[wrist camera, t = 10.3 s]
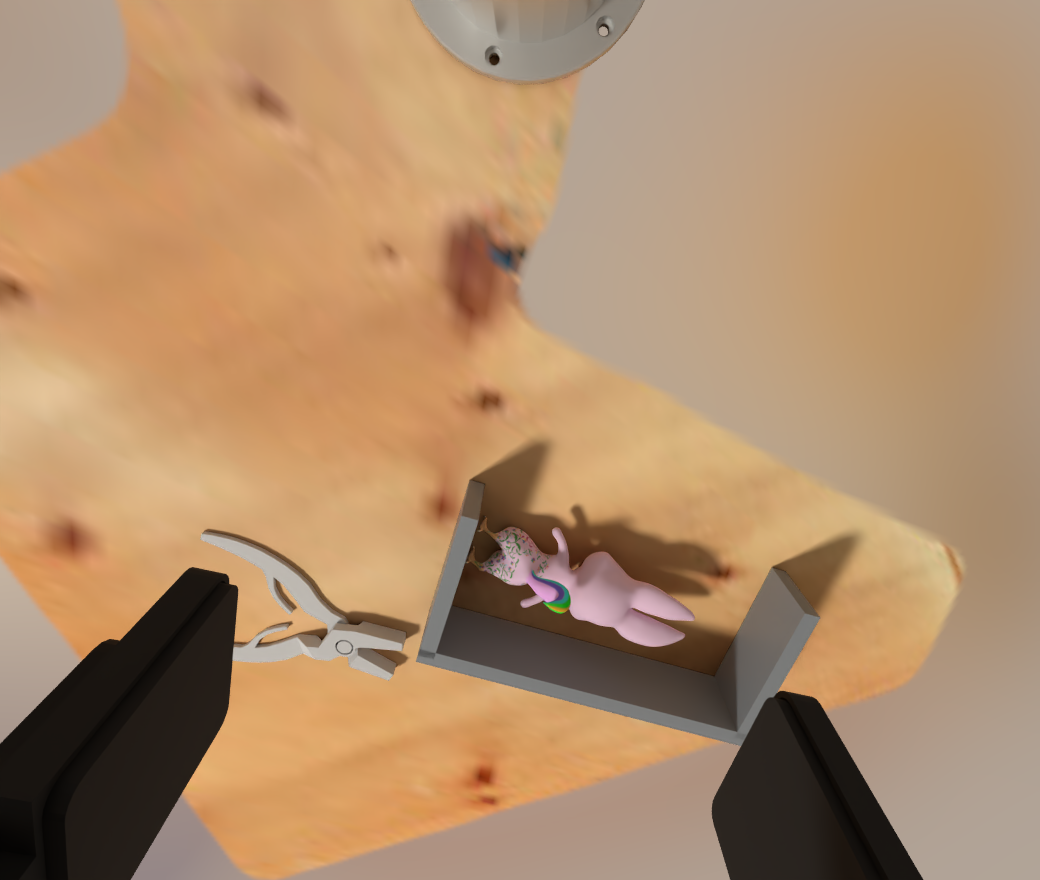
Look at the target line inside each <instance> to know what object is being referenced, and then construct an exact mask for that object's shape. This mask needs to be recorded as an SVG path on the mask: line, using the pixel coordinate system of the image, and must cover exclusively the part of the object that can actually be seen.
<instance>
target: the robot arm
mask: <svg viewBox="0 0 1040 880" xmlns="http://www.w3.org/2000/svg"><path fill="white" fill-rule="evenodd" d="M411 2H412V4H413V6H414V8H415V10H416V12H417V14H418V16H419V17H420V19H421V20H422V22H423V23H424V25H425V26H426V27H427V29H428V30H429V32H430V33H431V35H432V36H433V38H434V39H435V40H436V41H437V42H438V43H439V44H440V45H441V46H442V47H443V48H444V49H445V50H446V51H447V52H448V53H449V54H450V55H451V56H452V57H453V58H455V59H456V60H458V61H459V62H461V63H462V64H464V65H465V66H467V67H468V68H470V69H471V70H473V71H475V72H477V73H479V74H482V75H484V76H487V77H489V78H491V79H494V80H497V81H502V82H508V83H513V84H519V85H521V84H544V83H547V82H551V81H555V80H559V79H563V78H566V77H568V76H570V75H572V74H574V73H576V72H578V71H580V70H582V69H584V68H586V67H588V66H590V65H591V64H592V63H593V62H595V61H596V60H597V59H599V58H600V57H601V56H603V55H604V54H605V53H606V52H608V51H609V50H610V49H611V48H612V47H613V45H614V44H615V43H616V42H617V41H618V40H619V39H620V37H621V36H622V35H623V34H624V33H625V32H626V31H627V29H628V28H629V26H630V24H631V23H632V21H633V20H634V18H635V16H636V15H637V13H638V11H639V10H640V8H641V7H642V4H643V2H644V0H411ZM602 26H603V27H606V28H607V29H608V35H607V36H601V35H600V34H599V32H598V30H599V28H600V27H602ZM493 55H496V56H498V57H499V59H500V61H499V63H498V64H497V65H492V64H490V62H489V60H490V58H491V56H493ZM237 600H238V587H237V586H236V585H231V584H229V577H228V575H226V574H223V573H218V572H213V571H209V570H204V569H199V568H194V567H192V568H189V569H188V570H187V571H185V572H184V573H183V574H182V576H181V577H180V578H179V579H178V580H177V581H176V582H175V583H174V584H173V585H172V586H171V587H170V588H169V589H168V590H167V591H166V592H165V594H164V595H163V596H162V597H161V598H160V599H159V600H158V601H157V602H156V603H155V604H154V605H153V606H152V607H151V608H150V609H149V611H148V612H147V613H146V614H145V615H144V616H143V617H142V618H141V619H140V620H139V621H138V622H137V623H136V624H135V625H134V626H133V627H132V629H131V630H130V631H129V632H128V633H127V634H126V635H125V636H124V637H123V638H122V639H121V640H120V641H119V640H113V639H109V640H106V641H104V642H102V643H100V644H99V645H98V646H97V647H96V648H94V649H93V650H92V651H91V652H90V653H89V654H88V655H87V656H86V657H85V658H84V659H83V660H82V661H81V662H80V663H79V664H78V665H77V667H75V668H74V670H73V671H72V672H71V673H70V674H69V675H68V676H67V677H66V678H65V679H64V680H63V681H62V682H61V683H60V684H59V685H58V686H57V687H56V688H55V689H54V690H53V691H52V692H51V693H50V694H49V695H48V696H47V697H46V698H45V699H44V700H43V701H42V702H41V703H40V704H39V705H38V706H37V707H36V708H35V709H34V710H33V711H32V712H31V713H30V714H29V715H28V716H27V717H26V718H25V719H24V720H23V721H22V722H21V723H20V724H19V725H18V727H16V728H15V729H14V730H13V731H12V732H11V733H10V734H9V735H8V736H7V737H6V739H5V740H4V741H3V742H2V743H1V744H0V880H131V878H132V876H133V875H134V873H135V871H136V870H137V868H138V866H139V864H140V863H141V861H142V859H143V858H144V856H145V854H146V853H147V851H148V849H149V848H150V846H151V844H152V843H153V841H154V839H155V838H156V836H157V834H158V833H159V831H160V829H161V827H162V826H163V824H164V822H165V821H166V819H167V817H168V816H169V814H170V812H171V811H172V809H173V807H174V806H175V804H176V802H177V801H178V799H179V797H180V795H181V794H182V792H183V790H184V789H185V787H186V785H187V784H188V782H189V780H190V779H191V777H192V775H193V774H194V772H195V770H196V768H197V767H198V765H199V763H200V762H201V760H202V758H203V757H204V755H205V753H206V752H207V750H208V748H209V747H210V745H211V743H212V741H213V740H214V738H215V736H216V735H217V733H218V731H219V730H220V728H221V726H222V724H223V722H224V719H225V716H226V714H227V710H228V706H229V696H230V684H231V672H232V660H233V648H234V636H235V624H236V612H237ZM712 819H713V823H714V827H715V830H716V833H717V836H718V840H719V843H720V847H721V850H722V853H723V857H724V860H725V863H726V867H727V870H728V873H729V877H730V880H923V878H922V877H921V875H920V873H919V872H918V870H917V868H916V867H915V865H914V863H913V861H912V860H911V858H910V856H909V855H908V853H907V851H906V849H905V848H904V846H903V844H902V843H901V841H900V839H899V838H898V836H897V834H896V832H895V831H894V829H893V827H892V826H891V824H890V822H889V821H888V819H887V817H886V815H885V814H884V812H883V810H882V809H881V807H880V805H879V803H878V802H877V800H876V798H875V797H874V795H873V793H872V791H871V790H870V788H869V786H868V785H867V783H866V781H865V779H864V778H863V776H862V774H861V773H860V771H859V769H858V768H857V766H856V764H855V762H854V761H853V759H852V757H851V756H850V754H849V752H848V751H847V749H846V747H845V745H844V744H843V742H842V741H841V739H840V737H839V735H838V733H837V732H836V730H835V728H834V727H833V725H832V723H831V721H830V720H829V718H828V717H827V715H826V713H825V711H824V709H823V708H822V706H821V704H820V703H819V702H818V701H817V699H815V698H813V697H810V696H805V695H800V694H796V693H791V692H786V691H779V692H778V693H776V694H775V696H774V697H769V698H767V699H766V701H765V702H764V704H763V706H762V708H761V709H760V711H759V713H758V715H757V717H756V719H755V721H754V723H753V725H752V727H751V728H750V730H749V732H748V734H747V736H746V738H745V740H744V742H743V744H742V746H741V748H740V750H739V751H738V753H737V755H736V757H735V759H734V761H733V763H732V765H731V767H730V768H729V770H728V772H727V774H726V776H725V778H724V780H723V782H722V784H721V786H720V787H719V789H718V791H717V793H716V795H715V797H714V800H713V804H712Z"/></svg>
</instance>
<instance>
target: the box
mask: <svg viewBox="0 0 1040 880" xmlns="http://www.w3.org/2000/svg"><path fill="white" fill-rule="evenodd" d="M484 486H485V484H483V483H479V482H476V481H472V480H470V481H469V484H468V487H467V490H466V494H465V497H464V500H463V503H462V507H461V510H460V513H459V516H458V520H457V523H456V526H455V529H454V533H453V536H452V539H451V542H450V546H449V549H448V552H447V555H446V558H445V562H444V565H443V568H442V571H441V575H440V578H439V581H438V584H437V588H436V591H435V594H434V597H433V601H432V604H431V607H430V610H429V614H428V618H427V622H426V625H425V629H424V633H423V637H422V641H421V645H420V648H419V652H418V656H417V660H416V662H419V663H423V664H427V665H431V666H434V667H438V668H442V669H446V670H450V671H454V672H458V673H461V674H465V675H469V676H473V677H477V678H481V679H485V680H488V681H492V682H496V683H500V684H504V685H508V686H511V687H515V688H519V689H523V690H527V691H531V692H535V693H538V694H542V695H546V696H550V697H554V698H558V699H562V700H565V701H569V702H573V703H577V704H581V705H585V706H588V707H592V708H596V709H600V710H604V711H608V712H612V713H615V714H619V715H623V716H627V717H631V718H635V719H639V720H642V721H646V722H650V723H654V724H658V725H662V726H665V727H669V728H673V729H677V730H681V731H685V732H689V733H692V734H696V735H700V736H704V737H708V738H712V739H715V740H719V741H723V742H727V743H731V744H735V745H739V746H742V744H743V742H744V740H745V738H746V736H747V734H748V732H749V730H750V728H751V727H752V725H753V723H754V721H755V719H756V717H757V715H758V713H759V711H760V709H761V708H762V706H763V704H764V702H765V701H766V699H767V698H769V697H774V696H775V694H776V693H777V692H778V690H779V688H780V686H781V685H782V683H783V681H784V680H785V678H786V676H787V674H788V673H789V671H790V669H791V668H792V666H793V664H794V662H795V661H796V659H797V657H798V655H799V654H800V652H801V650H802V649H803V647H804V645H805V643H806V642H807V640H808V638H809V637H810V635H811V633H812V631H813V630H814V628H815V626H816V624H817V623H818V621H819V619H820V617H819V615H818V614H817V613H816V611H815V610H814V609H813V607H812V606H811V605H810V603H809V602H808V601H807V599H806V598H805V597H804V595H803V594H802V593H801V591H800V590H799V589H798V587H797V586H796V585H795V583H794V582H793V581H792V579H791V578H790V577H789V575H788V574H787V573H786V571H782V570H779V569H775V568H771V570H770V572H769V574H768V576H767V578H766V580H765V581H764V583H763V585H762V587H761V589H760V591H759V593H758V595H757V597H756V598H755V600H754V602H753V604H752V606H751V608H750V610H749V612H748V614H747V615H746V617H745V619H744V621H743V623H742V625H741V627H740V629H739V631H738V633H737V634H736V636H735V638H734V640H733V642H732V644H731V646H730V648H729V650H728V651H727V653H726V655H725V657H724V659H723V661H722V663H721V665H720V667H719V668H718V670H717V672H716V674H715V676H711V675H707V674H704V673H700V672H696V671H692V670H689V669H685V668H681V667H678V666H674V665H670V664H666V663H663V662H659V661H655V660H652V659H648V658H644V657H641V656H637V655H633V654H629V653H626V652H622V651H618V650H615V649H611V648H607V647H603V646H600V645H596V644H592V643H589V642H585V641H581V640H578V639H574V638H570V637H566V636H563V635H559V634H555V633H552V632H548V631H544V630H540V629H537V628H533V627H529V626H526V625H522V624H518V623H515V622H511V621H507V620H503V619H500V618H496V617H492V616H489V615H485V614H481V613H478V612H474V611H470V610H466V609H463V608H459V607H455V606H452V601H453V598H454V595H455V592H456V589H457V586H458V583H459V580H460V577H461V574H462V570H463V567H464V564H465V561H466V558H467V555H468V552H469V549H470V546H471V543H472V539H473V536H474V533H475V530H476V527H477V524H478V521H479V515H480V509H481V504H482V498H483V492H484Z"/></svg>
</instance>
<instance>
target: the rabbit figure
mask: <svg viewBox="0 0 1040 880" xmlns="http://www.w3.org/2000/svg"><path fill="white" fill-rule="evenodd" d="M484 517H485V518H486V519H484V520H483V521H482V523H481V525H480V526H479V529H480V530H478V532H481V531H482V530H483V531H484V532H485V533H487V534H489V535H490V536H491V537H492V538H493V539H495V541H496V542H497V543H498V545H499V546H500V547H501V548H502V550H498V551H496V552H494V553H493V554H492V555H491V556H490V558H489V559H488V560H487V561H485V562H483V563H479V562H477V561H476V560H475V559H474V555H475V551H474V550H475V547H474V546H473V550H472V551H471V552H470V554H469V555H468V557H467V561H466V562H465V563H469V562H471V563H472V564H474V565H475V566H476V567H477V568H478V569H479V570H480V571H486V572H488V573H490V574H492V575H494V576H496V577H498V578H499V579H501V580H502V581H504V582H506V583H507V584H510V585H525V584H527V583H528V584H529V585H530V586H531V588H532V589H533V590H534V592H535V593H536V595H535V596H533V597H530V598H526V599H523V600H522V601H521V606H522V607H523V608H526V607H529V606H532V605H534V604H537V603H539V602H541V601H543V600H544V601H545V602H543V603H544V604H545V605H546V606H547V607H548V608H549V609H551V610H552V611H554V612H556V613H559V614H562V613H564V612H566V611H567V610H568V609H570V612H571V614H572V615H573V617H574V618H576V619H578V620H585V621H589V622H592V623H594V624H597V625H600V626H606V627H614V628H615V629H616V630H617V631H618V633H619V634H620V635H621V636H622V637H624V638H625V639H627V640H629V641H632V642H634V643H637V644H641V645H645V646H650V647H659V646H665V645H669V644H672V643H675V642H677V641H679V640H681V639H683V638H684V637H685V634H684V633H683V632H680V631H678V630H676V629H674V628H672V627H670V626H668V625H666V624H664V623H662V622H659V621H657V620H655V619H653V618H651V617H649V616H646V615H644V614H642V613H639V612H637V611H635V610H633V609H632V608H636V609H638V610H640V611H642V612H645V613H648V614H651V615H655V616H658V617H661V618H664V619H668V620H686V621H693V620H694V619H695V616H694V614H693V613H692V612H691V611H690V610H689V609H688V608H686V607H685V606H684V605H683V604H681V603H680V602H679V601H677V600H676V599H674V598H673V597H671V596H670V595H668V594H667V593H665V592H664V591H662V590H661V589H659V588H657V587H655V586H653V585H651V584H649V583H646V582H641V581H637V580H634V579H632V578H631V577H629V576H628V575H627V574H626V573H625V571H624V570H623V569H622V568H621V567H620V566H619V565H618V564H617V562H616V561H615V560H614V559H613V558H612V557H611V556H610V555H609V554H608V553H606V552H595V553H592V554H590V555H589V556H588V557H587V558H586V559H585V560H584V562H583V564H582V565H581V567H578V568H576V569H575V570H571V569H570V567H569V553H568V547H567V543H566V541H565V538H564V536H563V534H562V532H561V530H560V529H559V528H558V527H555V528H554V529H553V530H552V533H553V536H554V537H555V539H556V540H557V542H558V553H557V554H556V555H548V554H544V553H542V552H541V551H540V550H539V549H538V547H537V546H536V545H535V543H534V542H533V541H532V539H531V538H530V537H529V536H528V535H527V534H526V533H525V532H524V531H522V530H521V529H519V528H516V527H508V528H505V529H504V530H502V531H500V532H497V533H492V532H490V531H489V530H488V529H487V527H486V526H487V525H486V524H487V517H486V516H484ZM567 589H568V590H567ZM568 591H569V592H568Z"/></svg>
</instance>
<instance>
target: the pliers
mask: <svg viewBox="0 0 1040 880" xmlns="http://www.w3.org/2000/svg"><path fill="white" fill-rule="evenodd" d="M200 540H203V541H205V542H208V543H210V544H213V545H215V546H217V547H220V548H222V549H224V550H226V551H229V552H231V553H233V554H235V555H237V556H239V557H241V558H243V559H245V560H247V561H249V562H250V563H252V564H254V565H255V566H257V567H259V568H261V569H262V570H263V572H264V574H265V576H266V579H267V583H268V588H269V590H270V592H271V594H272V596H273V598H274V599H275V600H276V602H277V603H278V604H279V605H280V606H281V607H282V608H283V609H284V610H285V611H286V612H287V613H288V614H289V615H290V614H291V613H292V612H293V610H294V609H293V608H292V607H291V606H290V605H289V604H288V603H287V602H286V601H285V600H284V599H283V598H282V596H281V595H280V593H279V591H278V589H277V586H276V579H277V580H278V581H279V582H280V583H281V584H283V585H284V586H285V588H286V589H287V590H288V591H289V592H290V593H291V595H292V596H293V597H294V599H295V600H296V601H297V602H298V604H299V605H300V606H301V608H302V609H303V610H304V612H306V613H308V614H309V615H311V616H313V617H315V618H316V619H318V620H320V621H322V622H324V623H325V624H327V628H328V634H327V635H326V636H325V638H324V639H323V640H321V639H320V638H319V637H318V636H317V635H306V634H297V635H294V636H292V637H289V638H286V639H283V640H280V641H276V642H273V643H269V644H258V642H259V640H260V639H262V638H263V637H264V636H266V635H267V634H270V633H273V632H277V631H281V630H287V629H288V627H289V624H288V623H287V624H280V625H276V626H272V627H269V628H266V629H265V630H263V631H261V632H260V633H258V634H257V635H256V636H255V637H254V638H253V639H252V640H251V641H250V642H248V643H246V644H234V648H233V660H232V661H242V662H275V661H281V660H287V659H290V658H292V657H295V656H298V655H300V654H305V655H307V656H309V657H311V658H313V659H316V660H326V661H330V660H332V659H334V658H336V657H338V656H344V657H348V662H349V667H352V668H354V669H357V670H360V671H363V672H366V673H369V674H371V675H374V676H377V677H380V678H383V679H386V680H388V681H389V680H390V678H391V677H392V676H393V674H394V671H395V667H396V663H395V662H393V661H391V660H389V659H387V658H386V657H384V656H382V655H380V654H379V653H377V652H375V651H373V650H371V649H370V648H372V649H384V650H395V651H402V650H403V646H404V643H405V640H406V632H403V631H399V630H396V629H392V628H388V627H384V626H380V625H376V624H372V623H369V622H365V621H363V622H362V623H361V624H359V625H350V624H349V622H348V620H347V619H346V617H345V616H344V615H342V614H340V613H338V612H336V611H334V610H333V609H332V608H331V607H329V606H328V605H327V604H326V603H325V602H324V601H323V600H322V599H321V598H320V596H319V595H318V593H317V592H316V590H315V589H314V587H313V586H312V585H311V583H310V582H309V581H308V580H307V579H306V578H305V577H304V576H303V575H302V574H301V573H300V572H299V571H297V570H296V569H295V568H293V567H292V566H291V565H289V564H288V563H287V562H285V561H284V560H282V559H280V558H279V557H277V556H276V555H274V554H272V553H270V552H269V551H267V550H265V549H263V548H261V547H259V546H256V545H254V544H252V543H249V542H247V541H244V540H241V539H238V538H235V537H231V536H227V535H223V534H218V533H213V532H207V531H204V532H203V533H202V534H201V539H200ZM257 644H258V645H257Z"/></svg>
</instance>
